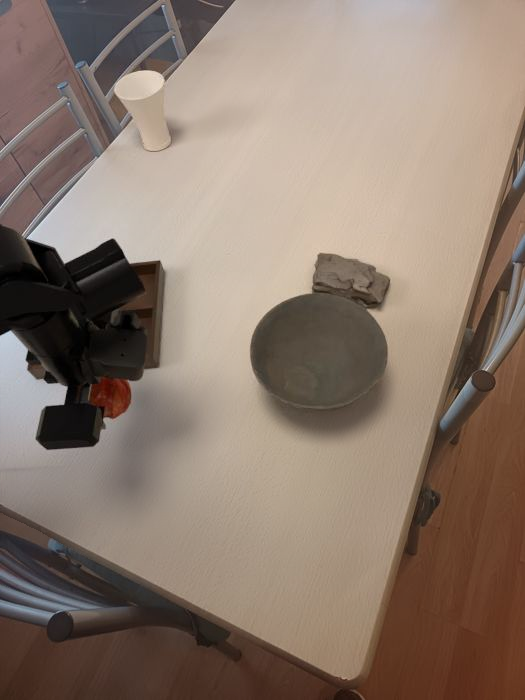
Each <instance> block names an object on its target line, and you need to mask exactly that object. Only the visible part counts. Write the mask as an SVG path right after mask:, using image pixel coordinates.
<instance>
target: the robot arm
mask: <svg viewBox="0 0 525 700" xmlns="http://www.w3.org/2000/svg"><path fill="white" fill-rule="evenodd" d="M130 263H131V262H129V260H128V258H127V257H126V255H125V252H124V251H123V248H122V247H121V245H120V244H119V243H118V241H117V239H116V238H110V239H107V240H105V241H103V242H101V243H99V245H97V247H95V248H93V249H91V250H89V251H87V252H85V253H83V254H81V255H79V256H78V257H75V258H73V259H71V260H68V261H67V262H64V260H63V259H62V257H61V255H60V254H59V252H58V250H57V248H56V247H54V246H52V245H48V244H44V243H43V242H38V241H36V240H32V239H30V238H26V237H24V235H22V234H21V233H20V232H18V231H17V230H15V229H14V228H10V227H9V226H8V227H7V226H6V225H3V224H2V223H0V337H1V336H3V335H5V334H7V333H8V332H11V333H12V334H13V335H14V336H15V337H16V338H17V340H18V341H19V342H20V343H21V344H22V345H23V346H24V347H25V348H26V350H27V351H26V352H27V353H26V357H25V362H26V363H27V365H28V364H29V365H39V364H41V365H42V366H43V367H44V368H45V369H46V372H45V376H44V378H43V381H44V382H45V383H46V384H47V385H52V384H60V386H63V387H67V388H66V393H65V397H64V402H63V404H53V405H45V406H44V407H43V408H42V409H41V411H40V416H39V421H38V424H37V428H36V432H35V433H36V434H35V437H34V438H35V441H36V442H37V443H38V444H39V445H40V446H42V448H44V449H45V450H46V451H53V450H55V451H56V450H68V449H70V450H71V449H80V448H81V449H84V448H94V447H95V446H96V445H97V444H99V442H100V438H101V431H102V430H106V428H107V425H106V423H105V420H104V419H105V418H104V411H105V406H99V407H98V406H95V405H93V404H92V403H91V402H89V398H90V392H91V386H92V384H100V380H101V376H103V377H105V378H113V379H124V380H128V382H137V381H140V380H142V378H143V376H144V371H145V369H144V364H145V355H146V346H147V336H146V333H147V329H146V328H145V326H140V319H139V318H138V317H137V315H136V314H135V312H134V311H126V310H122V311H121V312H120V313H119V314H118V308H120V307H122V306H124V305H126V304H127V303H129V302H131V301H133V300H135V299H137V298H139V297H141V296H142V295H144V294H146V290H145V288H144V285H143V283H142V281H141V280H140V278H139V277H138V275H137V274H136V272H135V271H134V269H133V268H132V267H131V265H130ZM82 391H83V392H82Z"/></svg>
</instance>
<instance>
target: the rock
mask: <svg viewBox="0 0 525 700" xmlns="http://www.w3.org/2000/svg"><path fill="white" fill-rule="evenodd" d="M316 256H317V259H316V261H315V263H314V268H315V271H314V273H313V277H312V286H311V291H312V292H311V293H326V294H333V295H337V296H341V297H345V298H348V299H350V300H352V301H354V302H356V303H357V304H359V305H360V306H362V307H363V308H377V307H378V306H379V305H381V304H382V302H383V300H384V296H385V294H386V293H387V291H388V289H389V287H390V284H391V278H390V276H389V275H387V274H383V273H381V272H379V271H377V267H376V266H374V265H373V264H369V263H366V262H363V261H360V260H359V259H358V258H347V257H343V256H341V255H339V254H335V253H330V252H329V253H327V252H319V253H318V254H317V255H316Z"/></svg>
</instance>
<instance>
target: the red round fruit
mask: <svg viewBox="0 0 525 700" xmlns="http://www.w3.org/2000/svg"><path fill="white" fill-rule="evenodd" d="M82 392H83V391H82ZM89 402H91V403H92V404H93V405H95V406H98V407H99V406H105V411H104V418H103V419H105V418H106V419H107V418H108V419H111V420H114V419H117V418H118V417H119V416H121V415H122V414H125V413H126V412H127V411H128V409H129V407H130V405H131V403H132V389H131V384H130V381H129V380H124V379H113V378H105V377H103V376H101V380H100V384H92V386H91V392H90V398H89Z"/></svg>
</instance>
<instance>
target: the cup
mask: <svg viewBox="0 0 525 700" xmlns="http://www.w3.org/2000/svg"><path fill="white" fill-rule="evenodd" d="M165 82H166V81H165V77H164V76H163V75H162V73H159V72H158V71H155V70H148V69H147V70H137V71H134V72H131V73H128V74H126V75H124V76H122V77H121V78H120V79H119V80H118V81H117V82H116V83H115V85H114V87H113V90H114V94H115V95H116V97H117V98H118V100H119V101H120V102H121V104H122V105H123V106H124V108H125V109H126V111H127V112H128V113H129V114H130V116H131V118H132V120H133V122H134V123H135V126H136V127H137V130H138V132H139V134H140V137H141V141H142V145H143V148H144V149H145V150H147V151H150V152H160V151H162V150H165V149H166V148H167V147H169V146H170V145H171V143H172V137H171V134H170V132H169V129H168V127H167V126H168V125H167V122H166V115H165V114H166V113H165V86H166V85H165ZM169 134H170V135H169ZM169 137H170V139H169ZM168 140H169V141H168ZM167 141H168V142H167ZM166 142H167V143H166ZM143 143H144V144H143ZM164 143H166V144H164ZM163 144H164V145H163ZM145 145H146V146H145ZM161 145H162V146H161ZM147 146H148V147H147ZM157 146H160V147H157ZM151 147H155V148H151Z"/></svg>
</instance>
